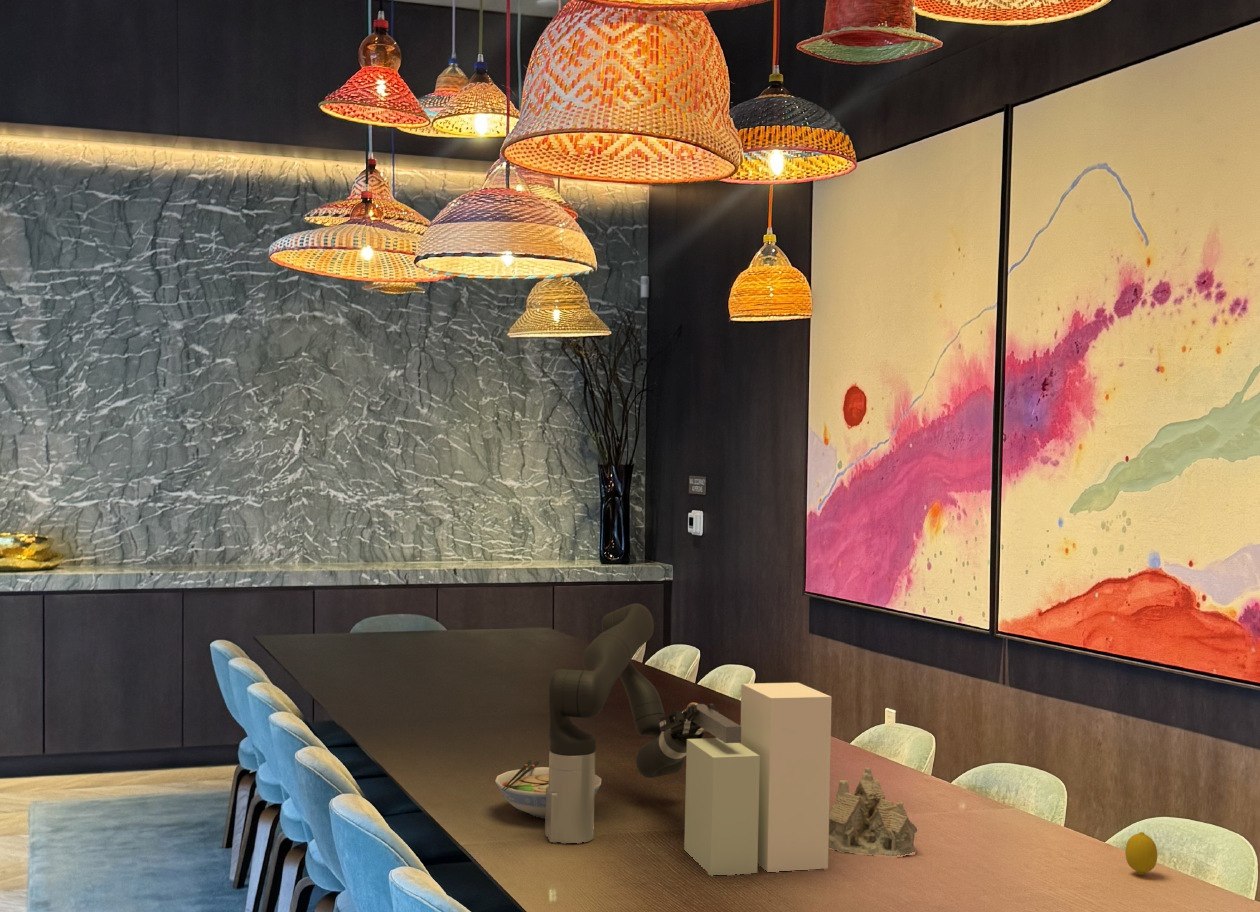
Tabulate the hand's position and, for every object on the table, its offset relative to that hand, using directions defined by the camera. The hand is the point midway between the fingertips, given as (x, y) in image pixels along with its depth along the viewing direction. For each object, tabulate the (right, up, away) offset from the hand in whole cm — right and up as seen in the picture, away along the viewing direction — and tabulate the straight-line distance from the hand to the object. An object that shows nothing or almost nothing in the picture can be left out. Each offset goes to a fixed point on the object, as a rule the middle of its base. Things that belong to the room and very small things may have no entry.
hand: (703, 708), depth 245 cm
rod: (+2, -3, -6) cm, 7 cm away
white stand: (+14, -27, -9) cm, 32 cm away
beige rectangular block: (+2, -26, -12) cm, 29 cm away
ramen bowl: (-32, -26, +18) cm, 45 cm away
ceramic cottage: (+32, -28, 0) cm, 43 cm away
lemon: (+81, -29, -14) cm, 87 cm away
